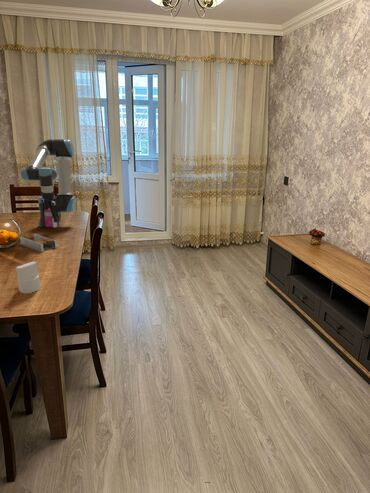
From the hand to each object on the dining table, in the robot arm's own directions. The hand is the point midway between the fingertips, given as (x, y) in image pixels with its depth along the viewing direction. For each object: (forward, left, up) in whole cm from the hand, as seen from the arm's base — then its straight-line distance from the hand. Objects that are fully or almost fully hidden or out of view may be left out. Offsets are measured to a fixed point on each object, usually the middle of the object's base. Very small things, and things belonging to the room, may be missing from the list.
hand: (51, 225), depth 230 cm
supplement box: (0, 0, -1) cm, 1 cm away
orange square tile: (+10, -16, -6) cm, 20 cm away
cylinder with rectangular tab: (+61, -51, -10) cm, 81 cm away
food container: (-48, +35, -10) cm, 60 cm away
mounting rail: (+10, -16, -9) cm, 22 cm away
